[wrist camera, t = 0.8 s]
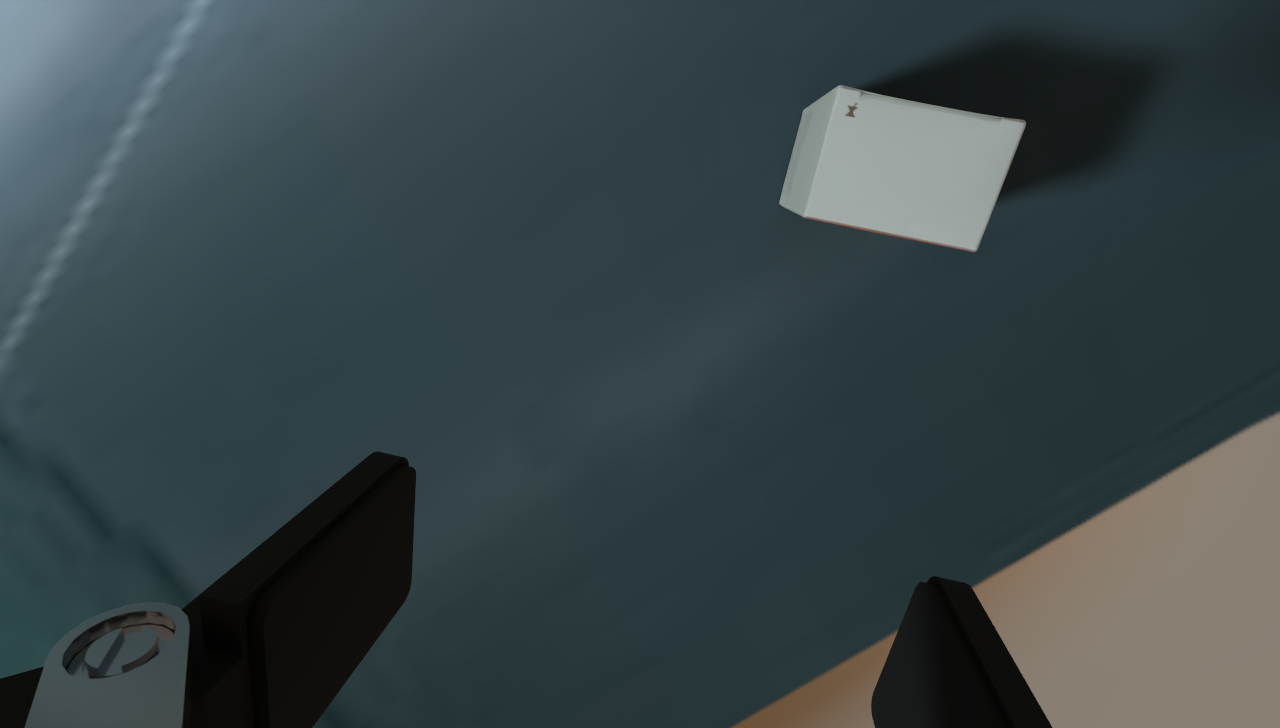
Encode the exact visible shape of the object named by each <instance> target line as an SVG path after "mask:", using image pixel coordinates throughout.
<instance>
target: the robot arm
mask: <svg viewBox="0 0 1280 728" xmlns="http://www.w3.org/2000/svg"><path fill="white" fill-rule="evenodd" d="M415 485H416V471H415V469H414V468H413V467H409V463H408V461H407V459H406V458H404V457H400V456H395V455H391V454H386V453H382V452H374V453H372V454H370V455H369V456H368V457H367V458H366V459H364V460H363V461H362V462H361V463H359V464H358V465H357V466H356V467H355V468H353V469H352V470H351V471H350V472H348V473H347V474H346V475H345V476H344V477H342V478H341V479H340V480H339V481H337V482H336V483H335V484H334V485H333V486H331V487H330V488H329V489H328V490H327V491H325V492H324V493H323V494H322V495H320V496H319V497H318V498H317V499H316V500H314V501H313V502H312V503H311V504H309V505H308V506H307V507H306V508H305V509H303V510H302V511H301V512H300V513H298V514H297V515H296V516H295V517H294V518H292V519H291V520H290V521H289V522H288V523H286V524H285V525H284V526H283V527H281V528H280V529H279V530H278V531H277V532H275V533H274V534H273V535H272V536H270V537H269V538H268V539H267V540H266V541H264V542H263V543H262V544H261V545H259V546H258V547H257V548H256V549H255V550H253V551H252V552H251V553H250V554H249V555H247V556H246V557H245V558H244V559H242V560H241V561H240V562H239V563H238V564H236V565H235V566H234V567H233V568H231V569H230V570H229V571H228V572H227V573H225V574H224V575H223V576H222V577H220V578H219V579H218V580H217V581H216V582H214V583H213V584H212V585H211V586H210V587H208V588H207V589H206V590H205V591H203V592H202V593H201V594H200V595H199V596H198V597H196V598H195V599H194V600H193V601H192V602H190V603H189V604H188V605H187V606H185V607H184V608H183V609H182V610H181V609H180V608H177V607H174V606H171V605H169V604H163V603H142V604H134V605H128V606H124V607H121V608H117V609H114V610H110V611H107V612H105V613H103V614H100V615H98V616H96V617H94V618H92V619H89V620H87V621H85V622H84V623H82V624H81V625H79V626H78V627H76V628H75V629H73V630H72V631H70V632H68V633H67V634H66V635H65V636H64V637H63V638H62V639H61V640H60V641H59V642H58V643H57V644H56V645H55V646H54V647H53V649H52V651H51V652H50V654H49V656H48V658H47V659H46V662H45V665H44V667H41V668H37V669H34V670H30V671H26V672H23V673H19V674H16V675H12V676H9V677H5V678H2V679H0V728H312V727H313V726H314V725H315V723H316V722H317V721H318V719H319V718H320V716H321V715H322V714H323V712H324V711H325V710H326V708H327V707H328V705H329V704H330V703H331V701H332V700H333V699H334V697H335V696H336V695H337V693H338V692H339V690H340V689H341V688H342V686H343V685H344V684H345V682H346V681H347V680H348V678H349V677H350V675H351V674H352V673H353V671H354V670H355V669H356V667H357V666H358V665H359V663H360V662H361V660H362V659H363V658H364V656H365V655H366V654H367V652H368V651H369V650H370V648H371V647H372V645H373V644H374V643H375V641H376V640H377V639H378V637H379V636H380V635H381V633H382V632H383V630H384V629H385V628H386V626H387V625H388V624H389V622H390V621H391V620H392V618H393V617H394V615H395V614H396V613H397V611H398V610H399V609H400V607H401V606H402V605H403V603H404V601H405V600H406V598H407V596H408V593H409V590H410V587H411V580H412V556H413V533H414V509H415ZM871 707H872V708H871V709H872V717H873V720H874V725H875V728H1052V726H1051V725H1050V723H1049V721H1048V719H1047V718H1046V716H1045V714H1044V712H1043V710H1042V709H1041V707H1040V705H1039V704H1038V702H1037V700H1036V698H1035V697H1034V695H1033V693H1032V691H1031V690H1030V688H1029V686H1028V685H1027V683H1026V681H1025V679H1024V678H1023V676H1022V674H1021V673H1020V671H1019V669H1018V667H1017V665H1016V664H1015V662H1014V660H1013V658H1012V657H1011V655H1010V653H1009V652H1008V650H1007V648H1006V646H1005V645H1004V643H1003V641H1002V639H1001V638H1000V636H999V634H998V632H997V631H996V629H995V627H994V625H993V624H992V622H991V620H990V618H989V617H988V615H987V613H986V612H985V610H984V608H983V606H982V605H981V603H980V601H979V600H978V598H977V596H976V594H975V592H974V591H973V589H972V588H971V587H970V585H968V584H966V583H962V582H958V581H953V580H949V579H945V578H940V577H936V576H934V577H931V578H930V579H929V580H928V581H927V583H924V582H920V583H919V584H918V585H917V586H916V588H915V590H914V593H913V595H912V598H911V600H910V603H909V605H908V608H907V610H906V613H905V615H904V618H903V620H902V623H901V625H900V628H899V630H898V633H897V635H896V638H895V640H894V642H893V645H892V647H891V650H890V653H889V655H888V657H887V660H886V663H885V665H884V667H883V670H882V672H881V675H880V677H879V680H878V682H877V685H876V687H875V690H874V693H873V696H872V704H871Z"/></svg>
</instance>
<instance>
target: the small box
mask: <svg viewBox="0 0 1280 728" xmlns="http://www.w3.org/2000/svg"><path fill="white" fill-rule="evenodd" d="M1025 127H1026V122H1025V121H1024V120H1021V119H1011V118H1004V117H997V116H990V115H984V114H979V113H973V112H967V111H962V110H957V109H952V108H946V107H941V106H936V105H930V104H925V103H920V102H915V101H910V100H905V99H900V98H895V97H889V96H884V95H880V94H875V93H871V92H867V91H863V90H859V89H855V88H851V87H847V86H844V85H839V86H837V87H836V88H834V89H833V90H831V91H830V92H829V93H827V94H826V95H824V96H823V97H821V98H820V99H818V100H817V101H816V102H814V103H813V104H811V105H810V106H808V107H807V108H805V109H804V110H803V114H802V118H801V122H800V126H799V130H798V133H797V137H796V141H795V144H794V148H793V152H792V156H791V160H790V164H789V167H788V171H787V175H786V179H785V182H784V186H783V190H782V194H781V198H780V202H779V204H780V205H781V206H783V207H785V208H787V209H789V210H791V211H793V212H795V213H797V214H799V215H801V216H802V217H804V218H808V219H812V220H817V221H822V222H827V223H832V224H837V225H841V226H846V227H851V228H855V229H860V230H864V231H869V232H874V233H879V234H883V235H889V236H894V237H899V238H904V239H909V240H914V241H919V242H924V243H929V244H934V245H940V246H945V247H950V248H956V249H961V250H966V251H970V252H976V251H977V250H978V247H979V244H980V242H981V239H982V237H983V234H984V231H985V229H986V226H987V224H988V221H989V219H990V216H991V214H992V211H993V209H994V206H995V203H996V201H997V198H998V196H999V193H1000V191H1001V188H1002V186H1003V183H1004V180H1005V178H1006V175H1007V173H1008V170H1009V168H1010V165H1011V163H1012V160H1013V157H1014V155H1015V152H1016V150H1017V147H1018V144H1019V142H1020V139H1021V137H1022V134H1023V132H1024V129H1025Z"/></svg>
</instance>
